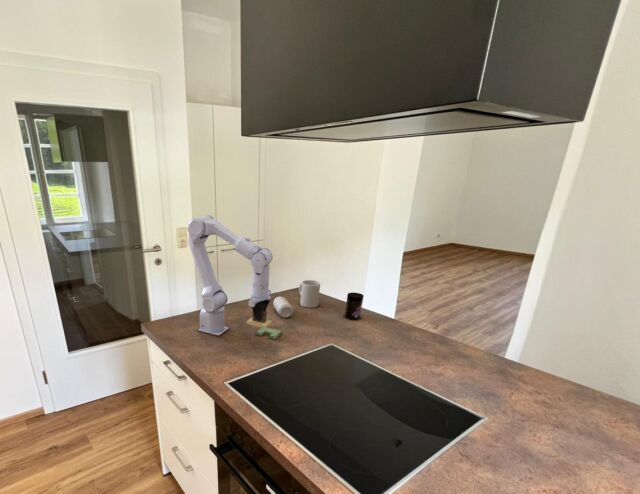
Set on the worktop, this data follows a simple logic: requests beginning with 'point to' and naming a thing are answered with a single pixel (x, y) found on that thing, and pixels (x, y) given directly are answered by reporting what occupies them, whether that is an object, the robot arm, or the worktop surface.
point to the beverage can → (283, 307)
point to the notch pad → (269, 332)
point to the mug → (309, 293)
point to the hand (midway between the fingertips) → (259, 318)
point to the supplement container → (353, 306)
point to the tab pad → (264, 325)
